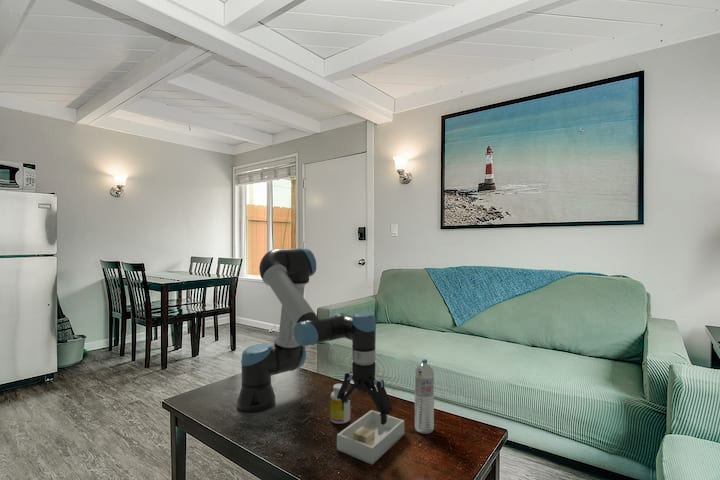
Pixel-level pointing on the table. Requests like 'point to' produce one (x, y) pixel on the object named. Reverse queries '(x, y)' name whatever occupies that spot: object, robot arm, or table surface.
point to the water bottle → (424, 398)
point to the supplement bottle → (336, 406)
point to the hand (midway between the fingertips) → (363, 427)
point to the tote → (382, 442)
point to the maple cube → (365, 435)
